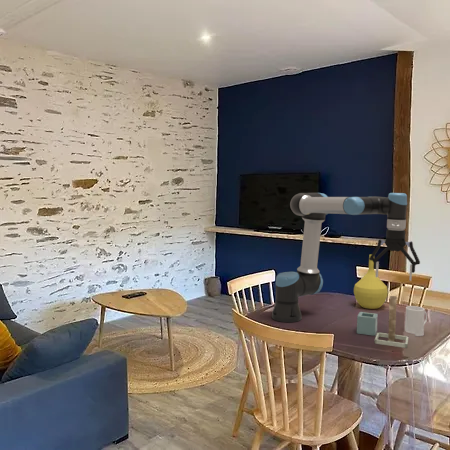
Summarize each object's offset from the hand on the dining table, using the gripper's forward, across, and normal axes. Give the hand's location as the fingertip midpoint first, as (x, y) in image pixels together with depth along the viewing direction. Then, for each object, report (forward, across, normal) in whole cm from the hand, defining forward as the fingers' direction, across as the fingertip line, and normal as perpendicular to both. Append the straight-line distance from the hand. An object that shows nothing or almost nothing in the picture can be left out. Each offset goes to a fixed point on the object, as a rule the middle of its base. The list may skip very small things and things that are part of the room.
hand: (393, 278), depth 198 cm
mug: (+29, +10, +20) cm, 37 cm away
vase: (+30, -16, +60) cm, 68 cm away
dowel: (+28, +1, 0) cm, 28 cm away
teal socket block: (+29, -11, +8) cm, 32 cm away
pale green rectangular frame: (+29, +1, 0) cm, 29 cm away
